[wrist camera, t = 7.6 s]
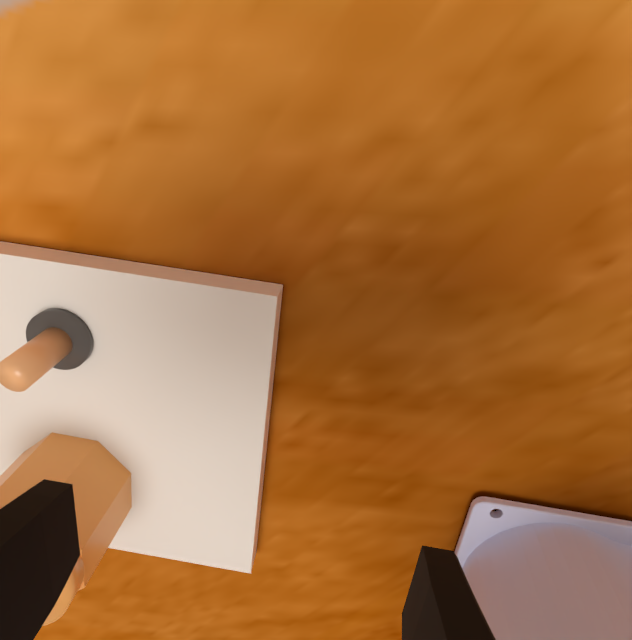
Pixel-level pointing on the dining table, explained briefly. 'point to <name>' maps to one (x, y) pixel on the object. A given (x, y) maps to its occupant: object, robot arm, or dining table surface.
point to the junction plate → (146, 389)
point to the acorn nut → (76, 497)
